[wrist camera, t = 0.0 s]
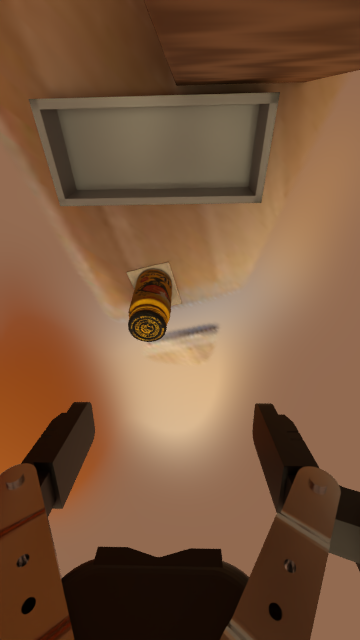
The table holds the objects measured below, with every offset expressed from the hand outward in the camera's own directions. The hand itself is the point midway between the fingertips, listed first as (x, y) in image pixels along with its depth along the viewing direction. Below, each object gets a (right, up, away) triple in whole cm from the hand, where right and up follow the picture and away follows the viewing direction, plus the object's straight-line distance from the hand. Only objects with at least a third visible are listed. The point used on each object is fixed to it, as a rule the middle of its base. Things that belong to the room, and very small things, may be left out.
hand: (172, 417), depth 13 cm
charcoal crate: (-2, +26, +19) cm, 32 cm away
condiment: (-4, +11, +32) cm, 34 cm away
